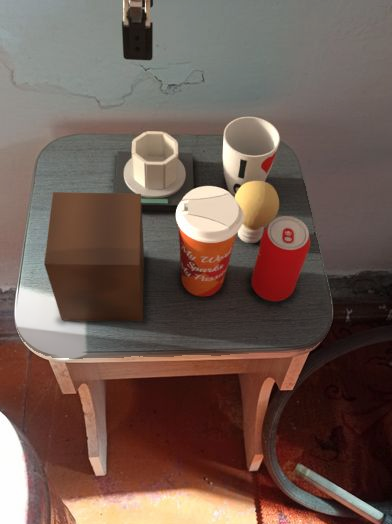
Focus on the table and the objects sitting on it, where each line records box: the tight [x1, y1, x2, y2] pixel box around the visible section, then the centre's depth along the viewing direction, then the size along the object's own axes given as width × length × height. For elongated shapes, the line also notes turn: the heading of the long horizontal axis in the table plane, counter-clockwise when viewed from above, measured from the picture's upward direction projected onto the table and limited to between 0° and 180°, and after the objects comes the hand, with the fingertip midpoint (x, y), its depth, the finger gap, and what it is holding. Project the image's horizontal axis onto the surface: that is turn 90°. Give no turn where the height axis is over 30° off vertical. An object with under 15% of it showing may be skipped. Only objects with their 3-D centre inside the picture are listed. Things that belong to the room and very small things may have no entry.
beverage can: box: [251, 215, 311, 302], centre depth 76 cm, size 6×6×12 cm
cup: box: [222, 116, 281, 197], centre depth 85 cm, size 8×8×10 cm
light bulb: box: [234, 181, 280, 244], centre depth 81 cm, size 6×6×10 cm
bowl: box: [131, 130, 179, 189], centre depth 85 cm, size 7×7×5 cm
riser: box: [43, 191, 145, 322], centre depth 74 cm, size 11×11×13 cm
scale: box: [114, 150, 195, 213], centre depth 88 cm, size 12×11×2 cm
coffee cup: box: [175, 185, 244, 297], centre depth 74 cm, size 8×8×15 cm
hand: (138, 31), depth 65 cm, fingers open, 9 cm apart
